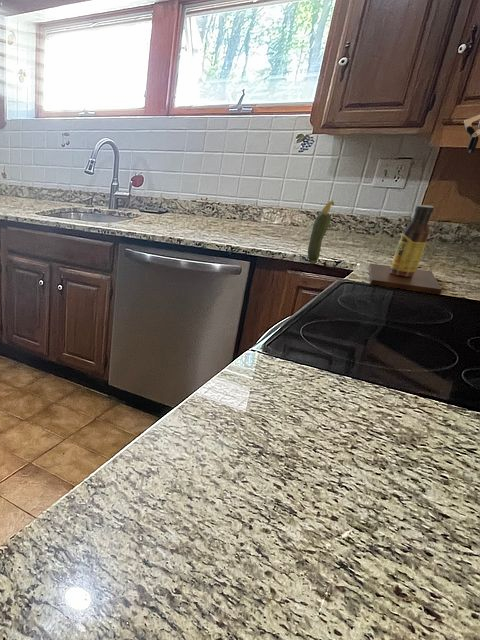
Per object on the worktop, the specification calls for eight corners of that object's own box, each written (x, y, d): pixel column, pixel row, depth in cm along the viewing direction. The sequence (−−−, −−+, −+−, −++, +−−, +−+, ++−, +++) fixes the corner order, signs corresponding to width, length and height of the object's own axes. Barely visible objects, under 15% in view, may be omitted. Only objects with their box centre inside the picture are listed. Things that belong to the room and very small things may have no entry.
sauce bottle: (387, 271, 159) (410, 203, 150) (412, 274, 156) (437, 205, 148) (389, 275, 153) (412, 205, 145) (415, 279, 151) (440, 208, 142)
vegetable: (301, 262, 172) (318, 199, 164) (306, 260, 175) (322, 198, 167) (316, 265, 170) (333, 201, 161) (320, 263, 172) (338, 200, 164)
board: (429, 275, 161) (431, 271, 160) (440, 294, 142) (442, 289, 141) (368, 267, 168) (369, 263, 167) (370, 284, 149) (371, 279, 149)
